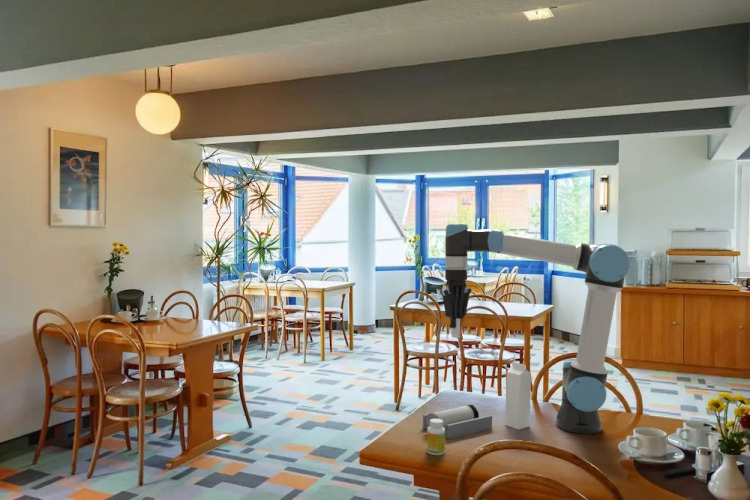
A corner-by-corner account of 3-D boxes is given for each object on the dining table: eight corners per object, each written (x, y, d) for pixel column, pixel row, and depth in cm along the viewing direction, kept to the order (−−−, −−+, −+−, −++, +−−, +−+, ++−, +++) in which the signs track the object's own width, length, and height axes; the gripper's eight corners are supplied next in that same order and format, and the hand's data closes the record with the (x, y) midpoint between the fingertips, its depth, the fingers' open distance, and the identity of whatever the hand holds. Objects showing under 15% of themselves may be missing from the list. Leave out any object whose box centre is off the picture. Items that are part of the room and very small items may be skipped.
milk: (518, 430, 197) (520, 366, 196) (504, 425, 202) (506, 362, 201) (529, 426, 200) (531, 364, 200) (515, 421, 205) (517, 360, 205)
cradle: (491, 428, 197) (492, 415, 197) (448, 439, 186) (448, 425, 186) (465, 418, 208) (465, 406, 208) (422, 427, 197) (423, 414, 196)
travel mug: (431, 437, 189) (474, 426, 201) (440, 425, 186) (483, 415, 198) (422, 421, 193) (464, 411, 205) (431, 409, 190) (473, 400, 202)
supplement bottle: (439, 457, 171) (440, 424, 170) (423, 453, 173) (424, 421, 173) (447, 451, 175) (448, 419, 175) (431, 447, 178) (432, 416, 178)
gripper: (461, 267, 204) (461, 334, 204) (434, 268, 196) (434, 337, 197) (477, 268, 198) (476, 336, 198) (450, 269, 190) (449, 340, 191)
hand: (455, 337), depth 198 cm, fingers closed
